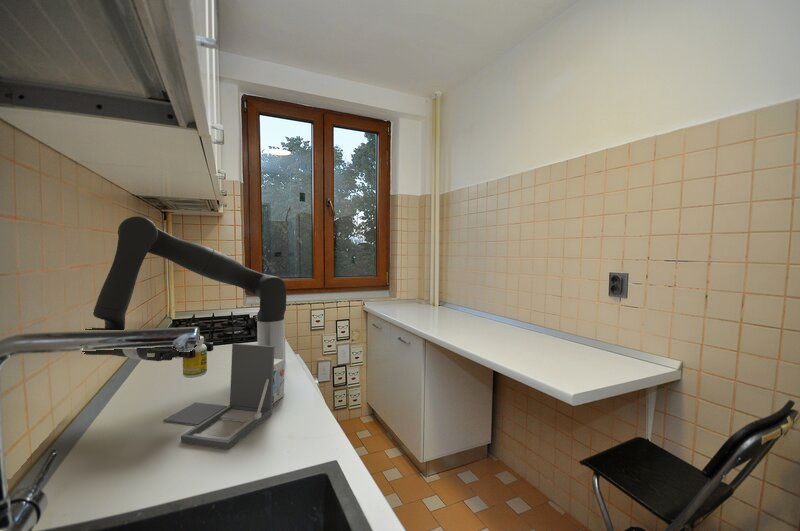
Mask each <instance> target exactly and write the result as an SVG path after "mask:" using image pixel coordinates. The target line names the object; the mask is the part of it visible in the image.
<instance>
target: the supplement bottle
mask: <svg viewBox="0 0 800 531" xmlns="http://www.w3.org/2000/svg"><path fill="white" fill-rule="evenodd" d="M199 336H200V340H199V343H198V344H197V346H196V347H195V348H194V349H195V357H194V358H182V376H183V377H184V378H189V379H192V378H199V377H202V376H204V375H206V374H207V371H208V351H207V347H206V345H205V344H203V342H204V339H205V337H204V336H202V335H199Z"/></svg>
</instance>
